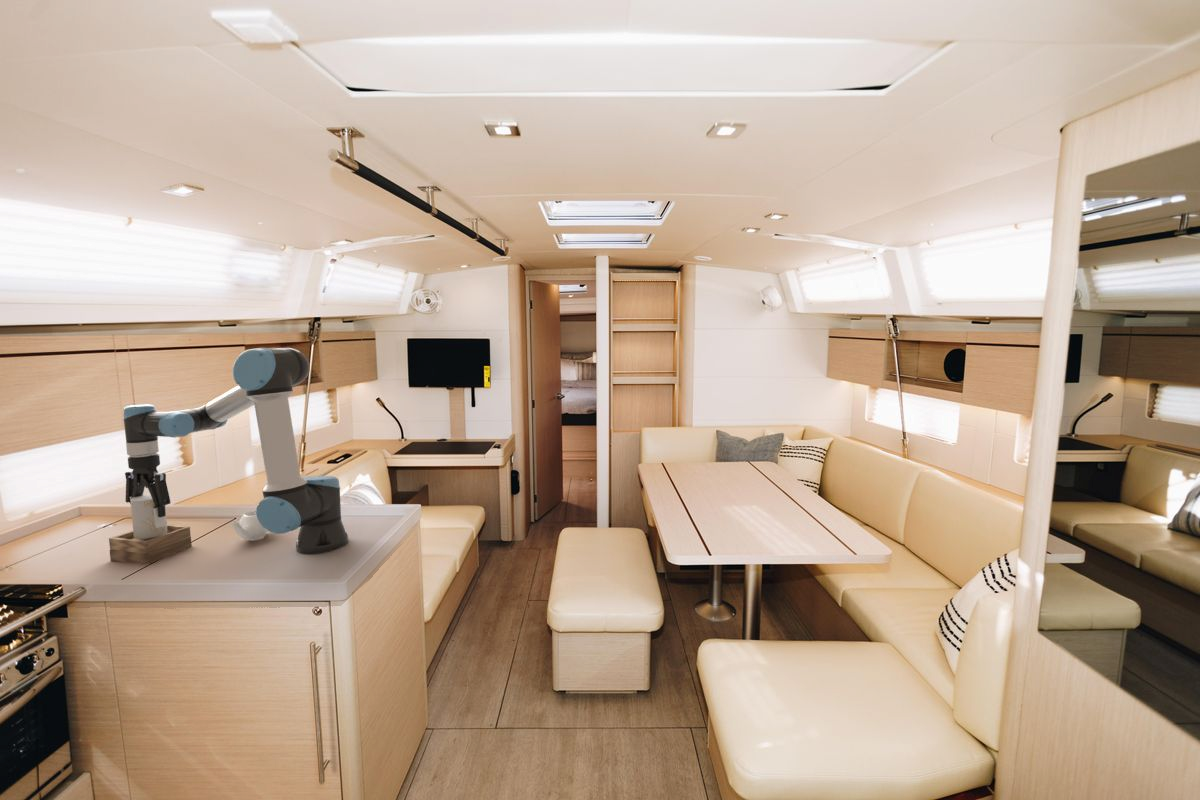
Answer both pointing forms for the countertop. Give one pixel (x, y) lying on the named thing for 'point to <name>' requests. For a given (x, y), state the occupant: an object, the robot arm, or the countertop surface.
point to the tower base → (151, 556)
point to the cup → (145, 518)
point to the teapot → (249, 527)
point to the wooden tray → (149, 540)
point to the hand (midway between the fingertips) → (150, 525)
